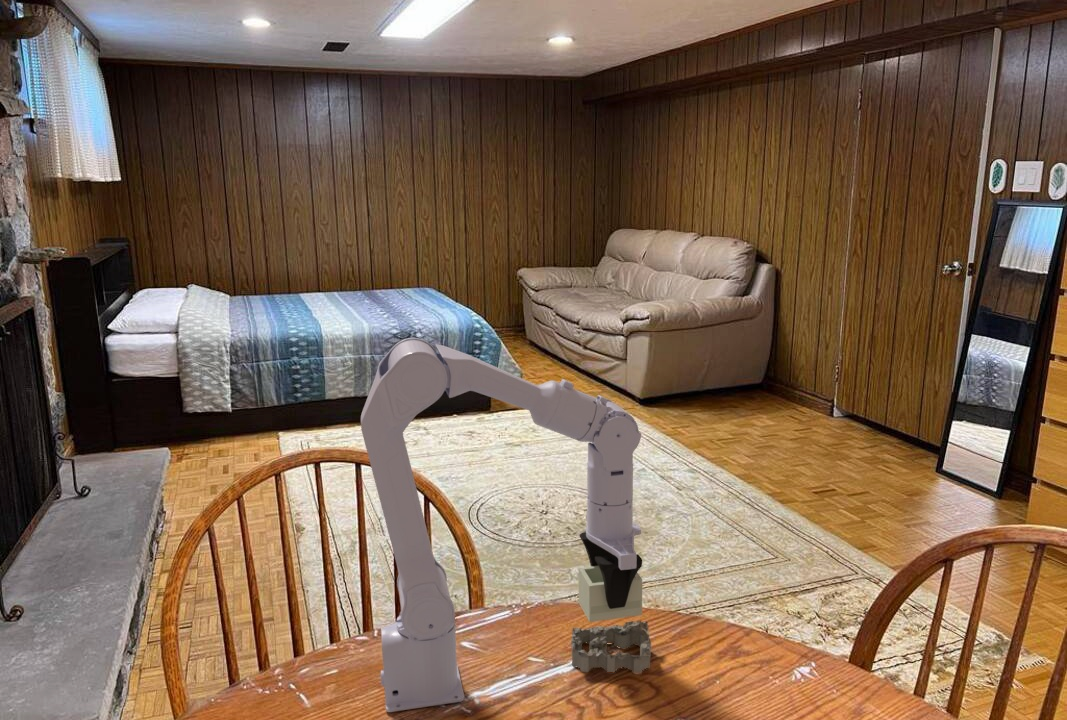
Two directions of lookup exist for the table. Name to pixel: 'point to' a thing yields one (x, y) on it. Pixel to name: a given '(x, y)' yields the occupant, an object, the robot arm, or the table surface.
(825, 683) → the table surface
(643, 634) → the egg carton
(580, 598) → the box
